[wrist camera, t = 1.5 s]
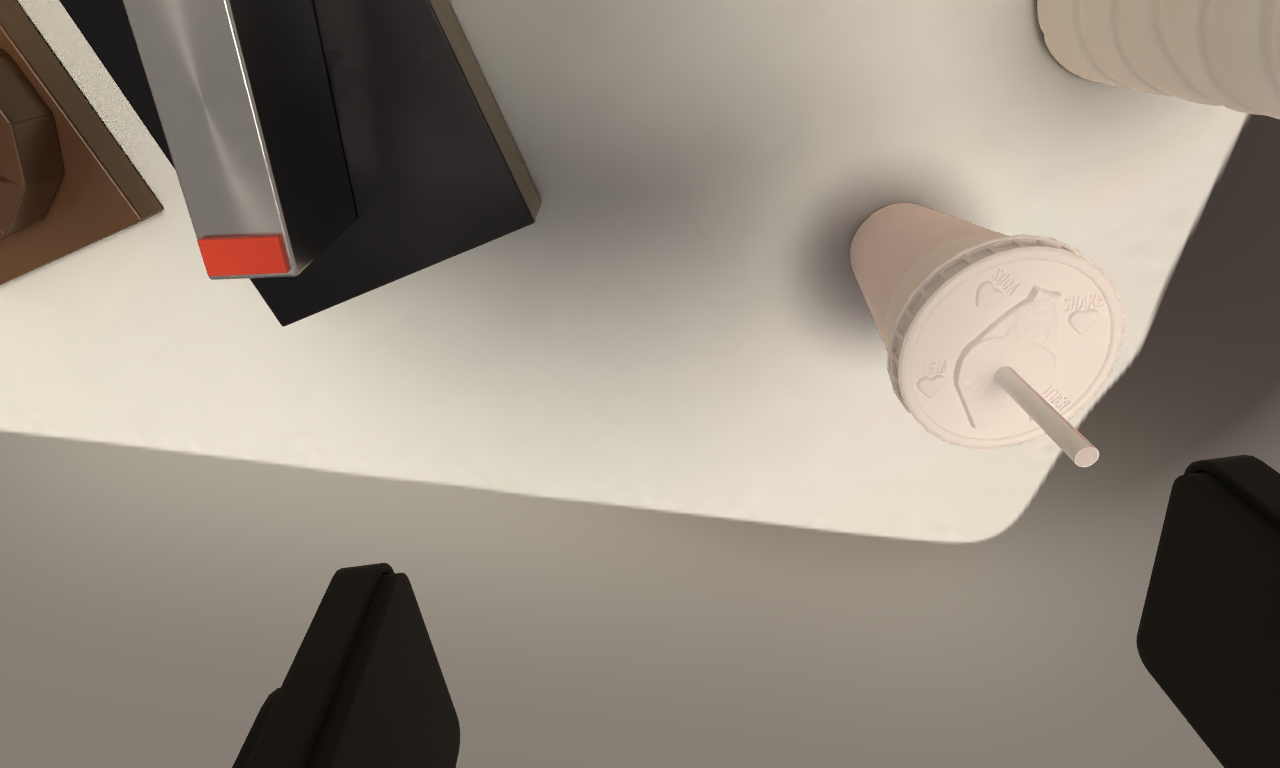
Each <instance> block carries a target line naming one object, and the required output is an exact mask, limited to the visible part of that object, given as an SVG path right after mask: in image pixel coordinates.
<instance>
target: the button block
mask: <svg viewBox="0 0 1280 768" xmlns="http://www.w3.org/2000/svg"><path fill="white" fill-rule="evenodd" d="M162 210H163V208H162V206H161V205H160V204H159V202H158V201H157V199H156V198H155V197H154V195H153V194H152V192H151V191H150V190H149V188H148V187H147V185H146V184H145V182H144V181H143V180H142V178H141V177H140V175H139V174H138V173H137V171H136V170H135V168H134V167H133V166H132V164H131V163H130V161H129V160H128V158H127V157H126V156H125V154H124V153H123V151H122V150H121V149H120V147H119V146H118V144H117V143H116V142H115V140H114V139H113V137H112V136H111V134H110V133H109V132H108V130H107V129H106V127H105V126H104V125H103V123H102V122H101V120H100V119H99V118H98V116H97V115H96V113H95V112H94V110H93V109H92V108H91V106H90V105H89V103H88V102H87V101H86V99H85V98H84V96H83V95H82V94H81V92H80V91H79V89H78V88H77V86H76V85H75V84H74V82H73V81H72V79H71V78H70V77H69V75H68V74H67V72H66V71H65V70H64V68H63V67H62V65H61V64H60V62H59V61H58V60H57V58H56V57H55V55H54V54H53V53H52V51H51V50H50V48H49V47H48V46H47V44H46V43H45V41H44V40H43V39H42V37H41V36H40V34H39V33H38V31H37V30H36V29H35V27H34V26H33V24H32V23H31V22H30V20H29V19H28V17H27V16H26V15H25V13H24V12H23V10H22V9H21V7H20V6H19V5H18V3H17V2H16V0H0V285H1V284H4V283H6V282H8V281H10V280H13V279H15V278H17V277H19V276H21V275H24V274H26V273H28V272H30V271H33V270H35V269H37V268H39V267H41V266H44V265H46V264H48V263H50V262H52V261H55V260H57V259H59V258H61V257H64V256H66V255H68V254H70V253H72V252H75V251H77V250H79V249H81V248H84V247H86V246H88V245H90V244H92V243H95V242H97V241H99V240H101V239H103V238H106V237H108V236H110V235H112V234H115V233H117V232H119V231H121V230H123V229H126V228H128V227H130V226H132V225H135V224H137V223H139V222H141V221H143V220H145V219H147V218H149V217H151V216H153V215H155V214H157V213H159V212H161V211H162Z"/></svg>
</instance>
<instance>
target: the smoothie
mask: <svg viewBox="0 0 1280 768" xmlns="http://www.w3.org/2000/svg"><path fill="white" fill-rule="evenodd" d="M850 262H851V267H852V270H853V272H854V275H855V277H856V279H857V281H858V284H859V286H860V288H861V291H862V293H863V295H864V298H865V300H866V302H867V304H868V307H869V309H870V311H871V314H872V316H873V318H874V321H875V323H876V325H877V327H878V330H879V332H880V334H881V337H882V339H883V341H884V343H885V346H886V348H887V351H888V368H887V369H888V373H889V376H890V380H891V383H892V386H893V390H894V393H895V394H896V396H897V397H898V399H899V400H900V401H901V403H902V404H903V406H904V407H905V409H906V410H907V411H908V412H909V413H910V414H911V415H912V416H913V417H914V419H915V420H916V421H917V422H918V423H919V424H920V425H921V426H922V427H923V428H924V429H925V430H926V431H928V432H929V433H931V434H932V435H934V436H935V437H937V438H939V439H941V440H943V441H945V442H948V443H951V444H954V445H957V446H961V447H967V448H976V449H993V448H1002V447H1008V446H1013V445H1017V444H1021V443H1024V442H1027V441H1030V440H1033V439H1035V438H1038V437H1040V436H1042V435H1044V434H1046V433H1047V434H1048V436H1049V437H1050V438H1051V439H1052V440H1053V441H1054V442H1055V443H1056V444H1057V445H1058V446H1059V447H1060V448H1061V449H1062V450H1063V451H1064V452H1065V453H1066V454H1067V455H1068V456H1069V457H1070V458H1071V459H1072V460H1073V461H1074V462H1075V463H1076V464H1077V465H1078V466H1080V467H1088V466H1090V465H1092V464H1093V463H1095V462H1096V460H1097V459H1098V457H1099V452H1098V450H1097V449H1096V448H1095V447H1094V446H1093V445H1092V444H1091V443H1090V442H1089V441H1088V440H1086V439H1085V438H1084V437H1083V436H1082V435H1081V434H1080V433H1079V432H1078V431H1077V430H1076V429H1075V428H1074V427H1073V426H1072V425H1071V424H1070V423H1069V422H1068V420H1069V419H1071V418H1072V417H1073V416H1074V415H1076V414H1077V413H1078V412H1079V411H1080V410H1081V409H1083V408H1084V407H1085V406H1086V405H1087V404H1088V403H1089V402H1090V401H1091V400H1092V398H1093V397H1094V396H1095V395H1096V394H1097V393H1098V391H1099V390H1100V389H1101V387H1102V386H1103V384H1104V383H1105V381H1106V380H1107V378H1108V377H1109V375H1110V373H1111V371H1112V370H1113V367H1114V365H1115V363H1116V361H1117V358H1118V355H1119V352H1120V349H1121V345H1122V341H1123V333H1124V315H1123V308H1122V303H1121V300H1120V297H1119V294H1118V292H1117V290H1116V288H1115V286H1114V284H1113V283H1112V281H1111V280H1110V279H1109V277H1108V276H1107V275H1106V274H1105V273H1104V272H1103V271H1102V270H1101V269H1100V268H1099V267H1098V266H1097V265H1095V264H1094V263H1093V262H1091V261H1090V260H1088V259H1087V258H1086V257H1085V256H1084V255H1082V254H1081V253H1080V252H1079V251H1078V250H1077V249H1075V248H1073V247H1071V246H1068V245H1066V244H1064V243H1062V242H1059V241H1057V240H1055V239H1053V238H1046V237H1038V236H1030V235H1016V236H1007V235H1004V234H1001V233H998V232H995V231H992V230H990V229H987V228H984V227H981V226H978V225H975V224H972V223H969V222H967V221H964V220H961V219H958V218H955V217H952V216H949V215H946V214H944V213H941V212H938V211H935V210H932V209H929V208H926V207H923V206H920V205H917V204H913V203H896V204H892V205H888V206H886V207H883V208H881V209H879V210H878V211H876V212H874V213H873V214H872V215H870V216H869V217H868V218H867V219H866V220H865V221H864V222H863V223H862V224H861V226H860V227H859V229H858V230H857V232H856V234H855V236H854V238H853V241H852V244H851V249H850Z"/></svg>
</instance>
